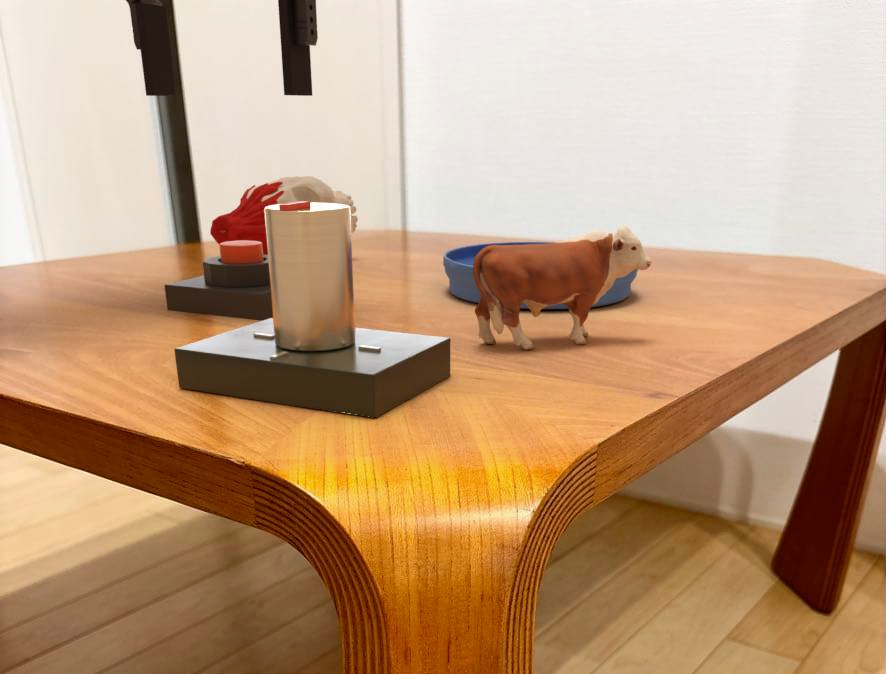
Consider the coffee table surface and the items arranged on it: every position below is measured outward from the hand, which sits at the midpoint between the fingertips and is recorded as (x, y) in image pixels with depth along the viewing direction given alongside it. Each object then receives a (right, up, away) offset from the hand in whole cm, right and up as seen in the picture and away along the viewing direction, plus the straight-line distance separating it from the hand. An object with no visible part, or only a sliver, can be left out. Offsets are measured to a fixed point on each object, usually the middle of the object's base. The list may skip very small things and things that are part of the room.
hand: (227, 96), depth 73 cm
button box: (0, -15, +7) cm, 17 cm away
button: (0, -12, +6) cm, 13 cm away
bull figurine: (+26, -21, -5) cm, 33 cm away
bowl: (+26, -12, +13) cm, 32 cm away
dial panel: (+9, -25, -15) cm, 31 cm away
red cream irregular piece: (-1, -3, +32) cm, 32 cm away
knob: (+9, -23, -16) cm, 29 cm away
